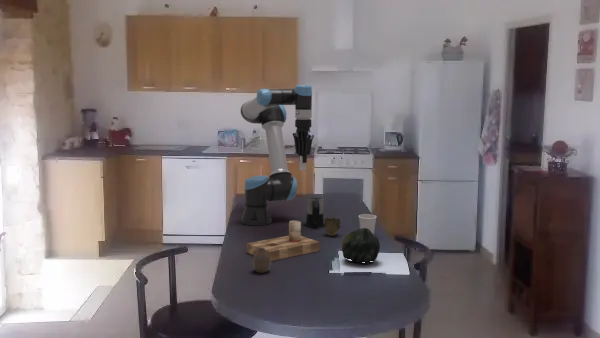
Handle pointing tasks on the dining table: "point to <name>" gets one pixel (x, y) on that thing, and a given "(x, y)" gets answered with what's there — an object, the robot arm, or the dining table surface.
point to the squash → (361, 246)
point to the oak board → (284, 247)
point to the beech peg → (294, 231)
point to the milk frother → (314, 210)
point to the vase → (261, 261)
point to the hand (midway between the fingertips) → (302, 169)
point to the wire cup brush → (332, 225)
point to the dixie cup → (367, 221)
